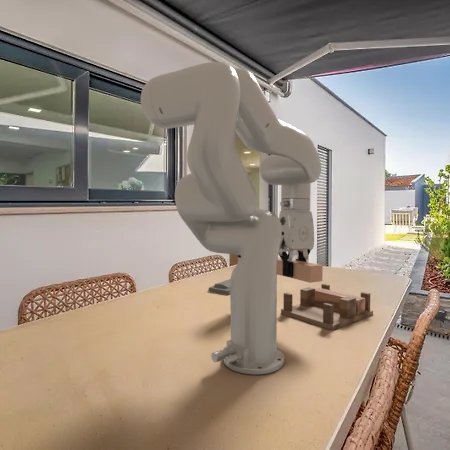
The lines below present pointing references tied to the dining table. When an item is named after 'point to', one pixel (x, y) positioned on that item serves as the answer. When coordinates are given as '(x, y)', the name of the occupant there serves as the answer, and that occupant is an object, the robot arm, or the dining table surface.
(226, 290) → the soap mold
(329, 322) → the rack
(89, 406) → the dining table surface
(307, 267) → the slat
